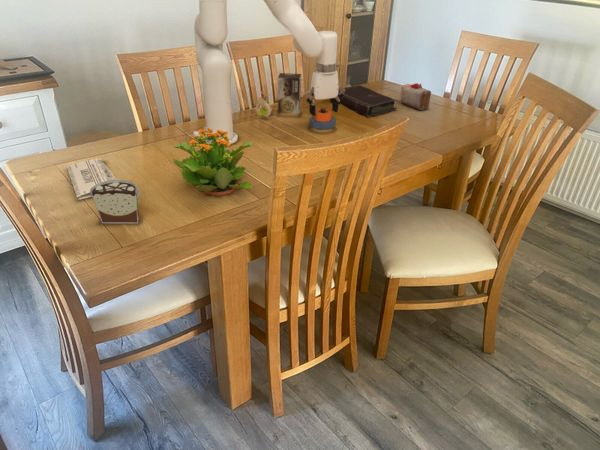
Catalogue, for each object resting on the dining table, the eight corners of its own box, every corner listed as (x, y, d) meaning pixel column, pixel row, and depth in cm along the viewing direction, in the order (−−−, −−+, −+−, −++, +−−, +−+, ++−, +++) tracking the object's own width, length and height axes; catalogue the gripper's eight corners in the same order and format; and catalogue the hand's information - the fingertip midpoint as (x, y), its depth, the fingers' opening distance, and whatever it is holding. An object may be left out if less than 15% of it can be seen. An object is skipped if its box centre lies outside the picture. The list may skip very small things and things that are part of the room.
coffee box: (300, 112, 199) (302, 73, 191) (299, 117, 194) (300, 77, 185) (279, 110, 200) (279, 72, 191) (277, 116, 195) (277, 76, 186)
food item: (396, 102, 214) (399, 80, 209) (409, 100, 218) (412, 78, 212) (418, 111, 204) (422, 88, 199) (431, 108, 208) (435, 86, 203)
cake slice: (149, 211, 128) (144, 178, 122) (144, 223, 123) (137, 189, 117) (103, 211, 127) (96, 178, 122) (96, 223, 122) (87, 189, 117)
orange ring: (319, 122, 178) (319, 115, 176) (311, 117, 183) (311, 109, 181) (333, 120, 180) (334, 112, 179) (326, 115, 185) (326, 107, 184)
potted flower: (277, 192, 139) (277, 136, 130) (210, 220, 125) (205, 160, 115) (226, 164, 154) (222, 113, 144) (161, 187, 140) (153, 131, 130)
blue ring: (317, 130, 178) (317, 124, 176) (305, 122, 185) (306, 116, 183) (339, 127, 181) (339, 121, 180) (327, 119, 188) (327, 113, 187)
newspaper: (123, 190, 137) (120, 183, 136) (79, 204, 133) (76, 196, 131) (107, 160, 153) (105, 153, 152) (68, 171, 149) (65, 164, 147)
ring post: (316, 134, 178) (317, 114, 174) (305, 126, 186) (305, 106, 181) (339, 131, 182) (341, 111, 178) (327, 122, 189) (328, 103, 185)
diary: (366, 118, 196) (367, 106, 193) (328, 101, 212) (329, 90, 210) (397, 110, 205) (399, 98, 202) (359, 95, 222) (360, 84, 219)
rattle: (280, 117, 193) (280, 89, 187) (265, 121, 189) (264, 93, 182) (269, 112, 198) (269, 85, 192) (253, 116, 193) (253, 88, 187)
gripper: (341, 62, 177) (338, 107, 187) (299, 67, 171) (299, 113, 180) (351, 67, 172) (348, 113, 181) (309, 72, 165) (308, 119, 174)
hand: (323, 112), depth 180 cm, fingers open, 9 cm apart
